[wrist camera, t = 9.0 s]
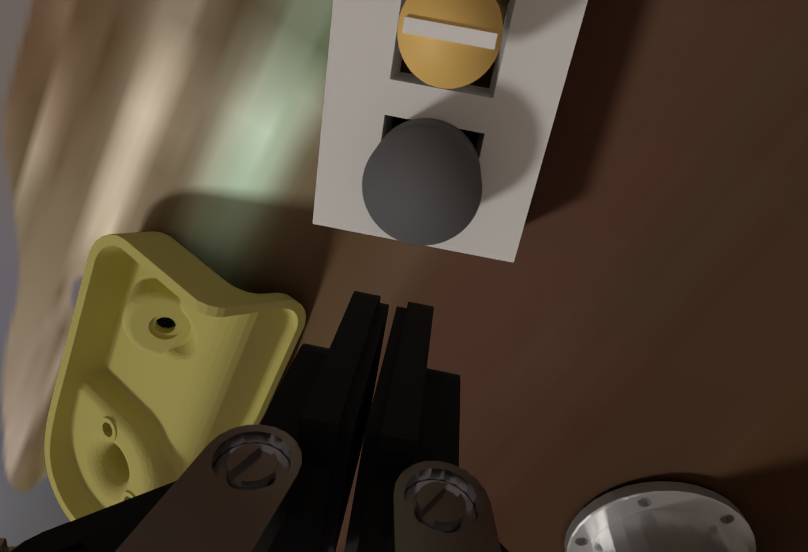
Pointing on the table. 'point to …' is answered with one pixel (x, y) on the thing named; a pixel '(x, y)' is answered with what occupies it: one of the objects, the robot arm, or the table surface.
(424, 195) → the knob
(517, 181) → the mount
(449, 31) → the pot knob
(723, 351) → the table surface
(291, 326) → the plastic component
